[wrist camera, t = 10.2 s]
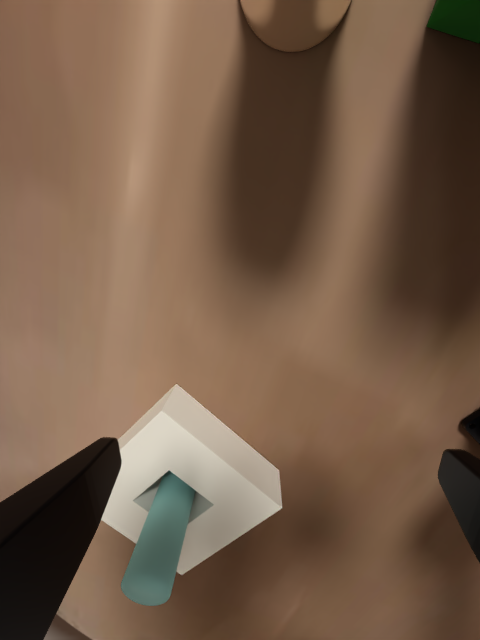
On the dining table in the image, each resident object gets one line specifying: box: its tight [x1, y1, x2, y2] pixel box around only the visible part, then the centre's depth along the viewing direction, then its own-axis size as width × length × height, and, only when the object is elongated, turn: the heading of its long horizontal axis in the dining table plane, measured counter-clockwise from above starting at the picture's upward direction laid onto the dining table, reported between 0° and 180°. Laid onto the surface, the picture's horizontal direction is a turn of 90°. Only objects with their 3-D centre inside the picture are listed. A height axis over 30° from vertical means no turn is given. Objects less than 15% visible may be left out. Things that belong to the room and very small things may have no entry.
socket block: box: [101, 384, 282, 575], centre depth 23 cm, size 12×12×4 cm
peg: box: [121, 470, 196, 606], centre depth 20 cm, size 3×3×9 cm
